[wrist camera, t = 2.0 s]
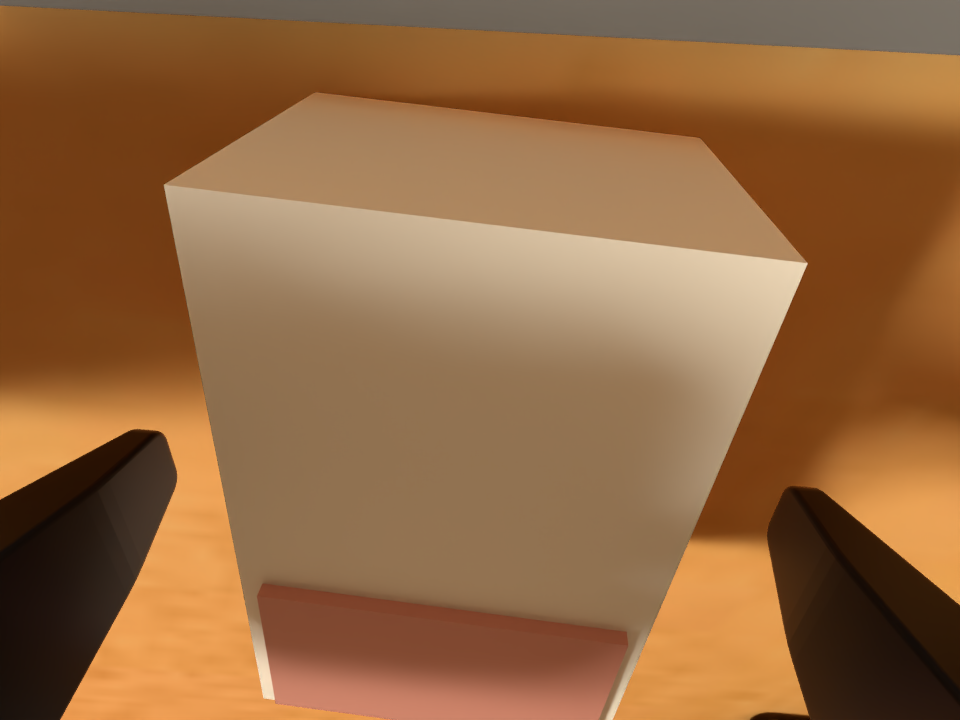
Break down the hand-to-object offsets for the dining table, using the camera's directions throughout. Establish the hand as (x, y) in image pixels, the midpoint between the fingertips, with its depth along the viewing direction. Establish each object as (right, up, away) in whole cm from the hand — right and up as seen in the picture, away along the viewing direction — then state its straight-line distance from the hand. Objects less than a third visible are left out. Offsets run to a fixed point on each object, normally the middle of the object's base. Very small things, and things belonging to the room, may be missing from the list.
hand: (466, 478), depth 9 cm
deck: (0, +2, +2) cm, 3 cm away
